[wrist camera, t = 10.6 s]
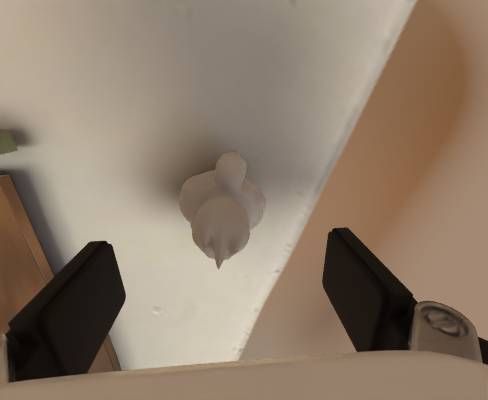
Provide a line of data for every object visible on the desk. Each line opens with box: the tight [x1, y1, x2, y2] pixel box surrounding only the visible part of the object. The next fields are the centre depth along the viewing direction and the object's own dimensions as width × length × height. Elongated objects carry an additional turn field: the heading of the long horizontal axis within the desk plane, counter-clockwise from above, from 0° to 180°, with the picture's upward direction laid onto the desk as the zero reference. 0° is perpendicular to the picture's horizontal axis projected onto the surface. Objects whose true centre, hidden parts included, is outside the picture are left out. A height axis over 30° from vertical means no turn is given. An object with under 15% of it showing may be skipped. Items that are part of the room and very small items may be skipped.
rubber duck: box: [180, 151, 266, 269], centre depth 14 cm, size 5×7×8 cm
